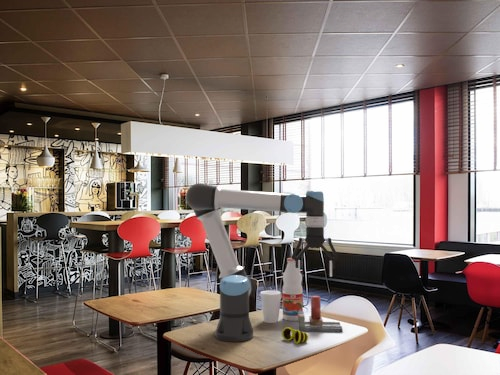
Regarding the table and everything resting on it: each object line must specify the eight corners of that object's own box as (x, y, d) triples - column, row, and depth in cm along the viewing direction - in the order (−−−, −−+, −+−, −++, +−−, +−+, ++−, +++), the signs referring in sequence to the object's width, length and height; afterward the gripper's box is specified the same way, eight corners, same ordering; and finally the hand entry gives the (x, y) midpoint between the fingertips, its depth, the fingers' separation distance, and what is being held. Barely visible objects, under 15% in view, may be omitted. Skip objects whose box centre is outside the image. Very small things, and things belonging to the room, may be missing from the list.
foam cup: (265, 324, 189) (265, 294, 189) (257, 319, 197) (257, 291, 198) (284, 322, 192) (284, 293, 193) (276, 317, 201) (276, 289, 201)
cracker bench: (298, 331, 178) (298, 316, 178) (297, 325, 188) (297, 311, 188) (342, 332, 176) (342, 317, 177) (339, 325, 186) (339, 311, 187)
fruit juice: (303, 316, 203) (302, 257, 204) (302, 321, 194) (302, 259, 195) (283, 316, 204) (282, 257, 206) (281, 321, 195) (281, 259, 196)
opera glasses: (308, 345, 163) (309, 331, 164) (299, 344, 160) (300, 331, 160) (290, 339, 170) (291, 326, 171) (280, 339, 167) (282, 325, 168)
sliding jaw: (310, 325, 179) (310, 298, 179) (309, 320, 187) (309, 294, 187) (322, 325, 178) (322, 298, 179) (320, 320, 186) (320, 295, 187)
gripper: (286, 226, 182) (285, 276, 181) (345, 227, 180) (345, 277, 179) (286, 225, 189) (285, 274, 188) (342, 226, 188) (343, 275, 186)
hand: (314, 276), depth 183 cm, fingers open, 13 cm apart
